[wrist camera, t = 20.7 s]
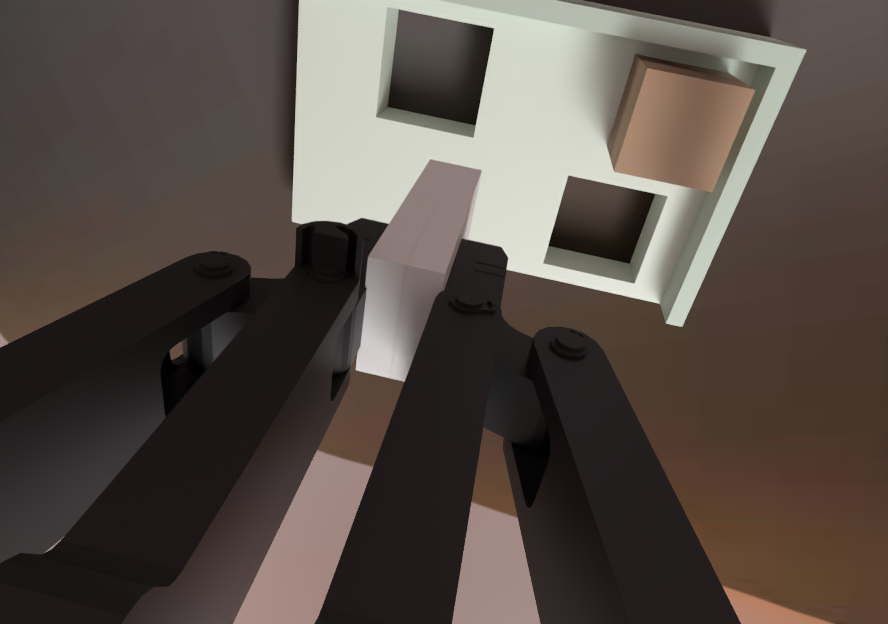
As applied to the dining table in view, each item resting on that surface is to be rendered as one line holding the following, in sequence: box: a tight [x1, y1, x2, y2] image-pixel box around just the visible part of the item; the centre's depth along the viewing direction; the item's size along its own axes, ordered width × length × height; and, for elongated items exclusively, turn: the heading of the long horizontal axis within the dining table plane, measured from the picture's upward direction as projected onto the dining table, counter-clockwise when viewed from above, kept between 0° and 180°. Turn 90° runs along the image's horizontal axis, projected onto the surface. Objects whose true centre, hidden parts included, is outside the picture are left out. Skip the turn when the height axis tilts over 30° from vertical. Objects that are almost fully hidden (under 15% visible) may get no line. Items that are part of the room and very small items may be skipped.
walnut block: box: [607, 54, 755, 192], centre depth 31 cm, size 5×5×5 cm
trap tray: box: [292, 0, 806, 327], centre depth 36 cm, size 26×16×6 cm, turn 81°
